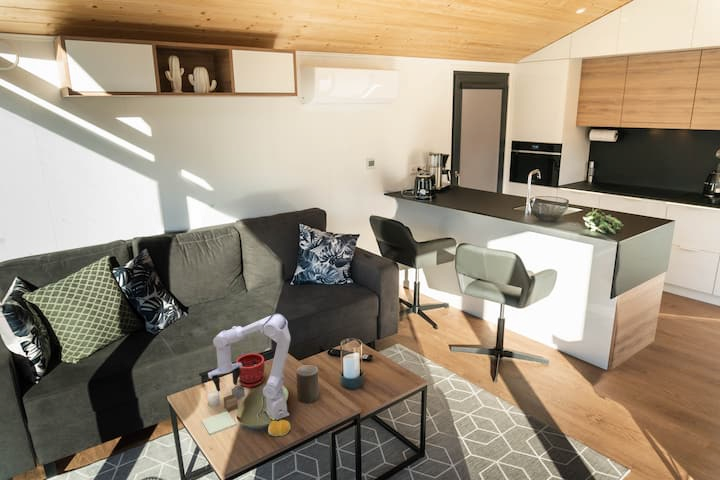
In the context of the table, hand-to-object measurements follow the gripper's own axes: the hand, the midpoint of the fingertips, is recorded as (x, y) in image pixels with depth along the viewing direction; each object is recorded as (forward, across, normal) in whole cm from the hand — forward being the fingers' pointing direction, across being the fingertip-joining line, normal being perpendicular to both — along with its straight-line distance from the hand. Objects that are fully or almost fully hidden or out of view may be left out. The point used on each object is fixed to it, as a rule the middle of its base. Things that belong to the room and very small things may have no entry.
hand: (226, 387), depth 213 cm
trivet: (+10, +8, +8) cm, 15 cm away
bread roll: (+10, -9, +28) cm, 31 cm away
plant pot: (+10, -17, -12) cm, 23 cm away
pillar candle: (+10, -31, +16) cm, 36 cm away
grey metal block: (+10, -7, -5) cm, 14 cm away
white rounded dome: (+10, +4, -7) cm, 13 cm away
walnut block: (+10, -1, +1) cm, 10 cm away
